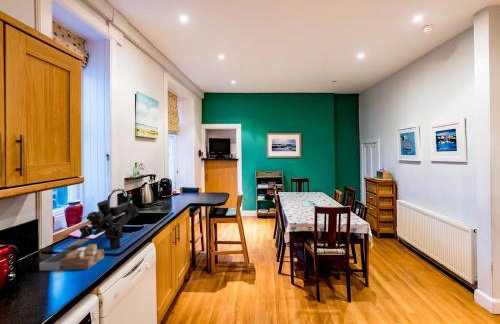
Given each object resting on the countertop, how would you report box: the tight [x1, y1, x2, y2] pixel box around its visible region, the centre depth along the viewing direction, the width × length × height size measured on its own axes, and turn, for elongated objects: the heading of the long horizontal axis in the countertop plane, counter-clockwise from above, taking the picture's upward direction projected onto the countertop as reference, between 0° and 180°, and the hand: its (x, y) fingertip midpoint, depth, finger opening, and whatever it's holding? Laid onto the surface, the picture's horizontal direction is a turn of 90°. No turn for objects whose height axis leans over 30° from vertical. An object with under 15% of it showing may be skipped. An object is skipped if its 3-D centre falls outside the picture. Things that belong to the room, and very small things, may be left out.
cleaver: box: [63, 238, 90, 251], centre depth 162 cm, size 29×10×2 cm, turn 7°
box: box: [38, 250, 74, 272], centre depth 138 cm, size 16×10×4 cm, turn 179°
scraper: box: [79, 243, 98, 259], centre depth 137 cm, size 12×5×5 cm, turn 179°
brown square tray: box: [61, 248, 105, 270], centre depth 137 cm, size 14×14×5 cm
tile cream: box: [74, 246, 86, 252], centre depth 140 cm, size 4×4×2 cm
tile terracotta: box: [67, 250, 81, 259], centre depth 134 cm, size 4×4×2 cm
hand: (87, 236), depth 133 cm, fingers open, 9 cm apart
